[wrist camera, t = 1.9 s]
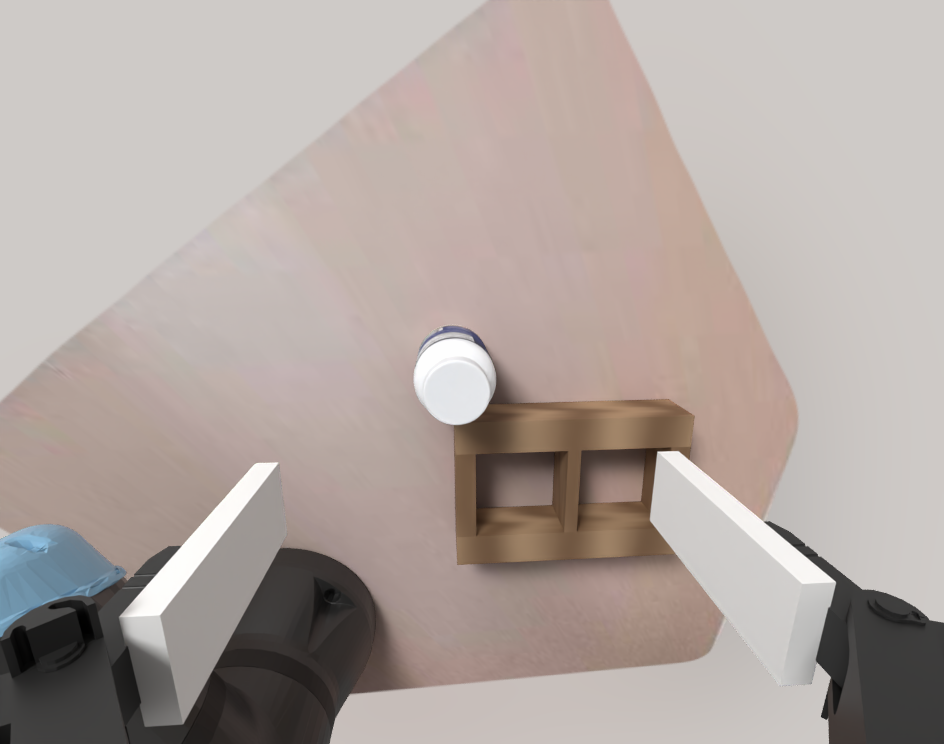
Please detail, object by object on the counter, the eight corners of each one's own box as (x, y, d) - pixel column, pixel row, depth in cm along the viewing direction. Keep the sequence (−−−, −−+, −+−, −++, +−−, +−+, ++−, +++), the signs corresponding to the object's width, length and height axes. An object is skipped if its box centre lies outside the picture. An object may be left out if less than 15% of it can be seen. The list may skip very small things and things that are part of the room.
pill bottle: (486, 388, 36) (502, 436, 27) (419, 390, 36) (412, 439, 27) (486, 322, 35) (502, 347, 26) (416, 324, 35) (407, 350, 25)
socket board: (455, 534, 40) (457, 564, 36) (453, 405, 37) (454, 423, 33) (654, 525, 41) (677, 553, 37) (668, 399, 38) (694, 415, 34)
